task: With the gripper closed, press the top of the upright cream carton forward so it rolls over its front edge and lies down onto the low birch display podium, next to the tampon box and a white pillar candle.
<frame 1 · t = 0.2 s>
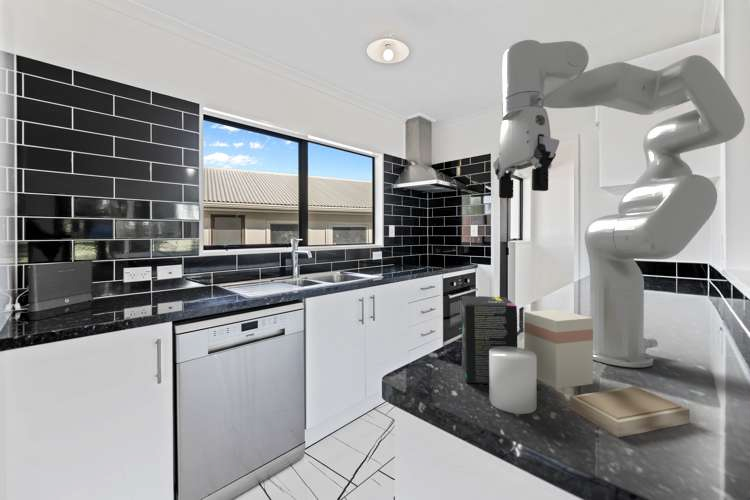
hand: (521, 194, 65), 35 cm above the counter, tool pointing down, fingers open, 9 cm apart
white pillar candle: (512, 402, 52), on the counter
cream carton: (556, 377, 61), on the counter
podium: (627, 415, 47), on the counter
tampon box: (487, 374, 63), on the counter
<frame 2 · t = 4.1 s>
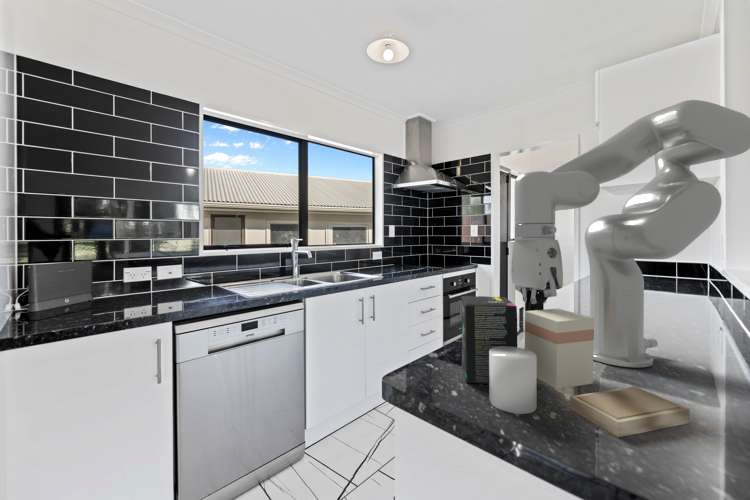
hand: (534, 321, 67), 9 cm above the counter, tool pointing down, fingers closed
cream carton: (556, 376, 61), on the counter, touching gripper
everything else where it was.
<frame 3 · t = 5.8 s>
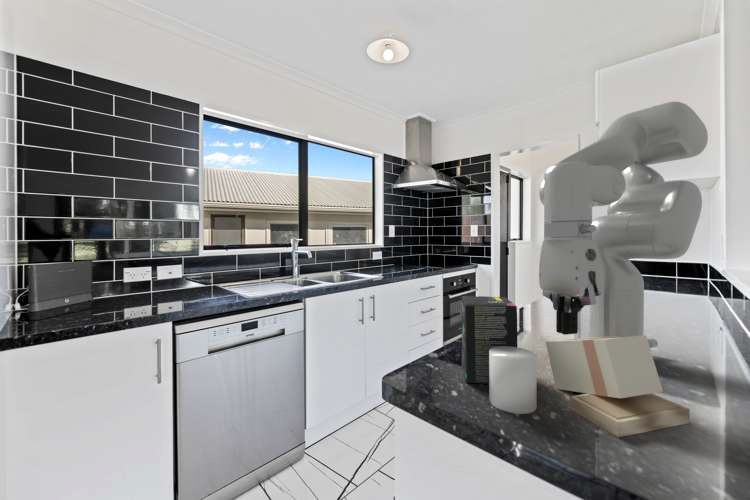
hand: (567, 332, 59), 9 cm above the counter, tool pointing down, fingers closed
cream carton: (569, 362, 58), point 4 cm above the counter, tilted 72°, touching podium
everything else where it was.
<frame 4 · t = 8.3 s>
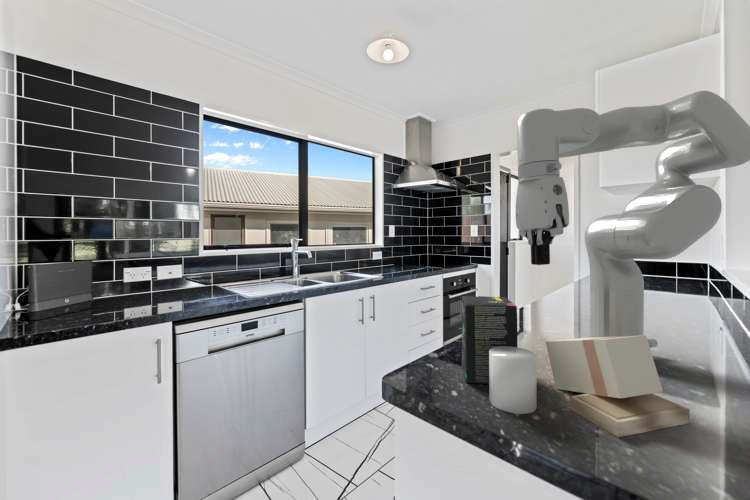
hand: (540, 264, 66), 21 cm above the counter, tool pointing down, fingers closed
nothing on the counter moved.
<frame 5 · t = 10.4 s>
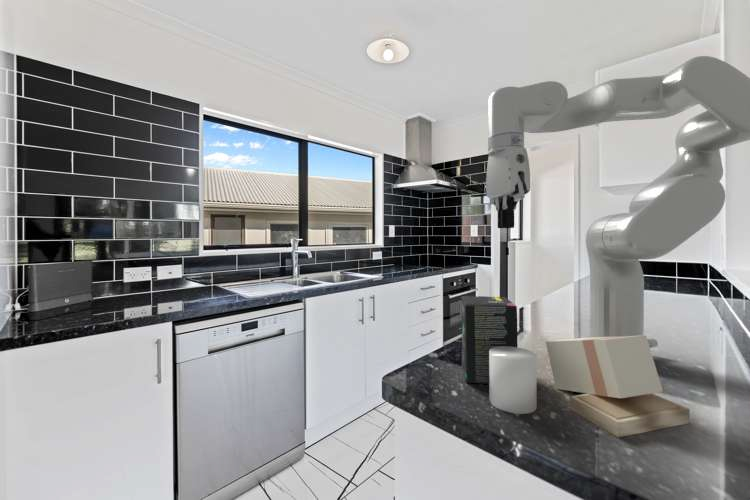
hand: (505, 227, 73), 29 cm above the counter, tool pointing down, fingers closed
nothing on the counter moved.
at the end: cream carton tilted 72°; cream carton touching podium, counter; cream carton moved 4.7 cm from its start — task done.
